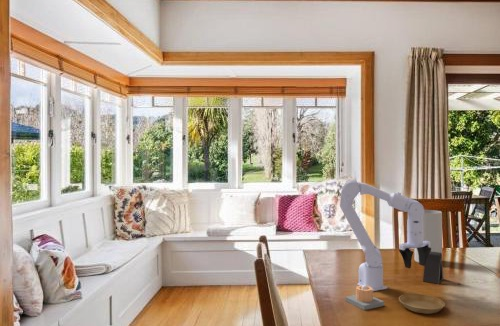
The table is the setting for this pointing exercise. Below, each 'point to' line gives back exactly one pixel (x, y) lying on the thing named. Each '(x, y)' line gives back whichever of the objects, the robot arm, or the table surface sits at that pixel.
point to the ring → (364, 294)
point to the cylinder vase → (431, 231)
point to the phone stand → (433, 268)
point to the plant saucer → (421, 303)
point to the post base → (364, 305)
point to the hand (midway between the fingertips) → (415, 266)
